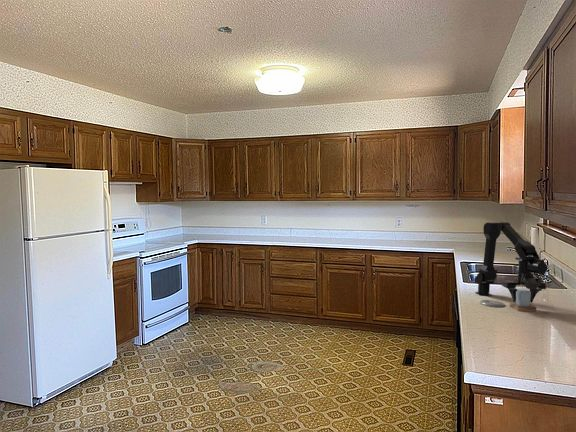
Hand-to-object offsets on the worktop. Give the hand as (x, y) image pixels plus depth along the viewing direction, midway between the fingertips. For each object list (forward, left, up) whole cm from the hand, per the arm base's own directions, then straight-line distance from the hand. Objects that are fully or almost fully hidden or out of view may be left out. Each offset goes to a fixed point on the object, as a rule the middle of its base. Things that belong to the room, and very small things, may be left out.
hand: (522, 302), depth 216 cm
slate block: (0, 0, -3) cm, 3 cm away
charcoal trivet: (-7, -11, -3) cm, 14 cm away
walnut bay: (0, 0, -3) cm, 3 cm away
